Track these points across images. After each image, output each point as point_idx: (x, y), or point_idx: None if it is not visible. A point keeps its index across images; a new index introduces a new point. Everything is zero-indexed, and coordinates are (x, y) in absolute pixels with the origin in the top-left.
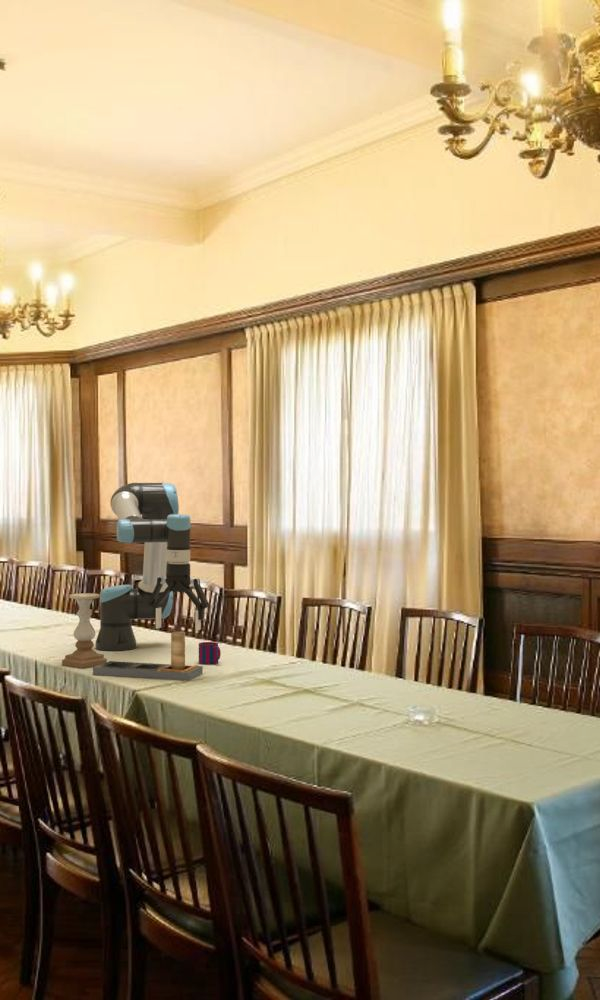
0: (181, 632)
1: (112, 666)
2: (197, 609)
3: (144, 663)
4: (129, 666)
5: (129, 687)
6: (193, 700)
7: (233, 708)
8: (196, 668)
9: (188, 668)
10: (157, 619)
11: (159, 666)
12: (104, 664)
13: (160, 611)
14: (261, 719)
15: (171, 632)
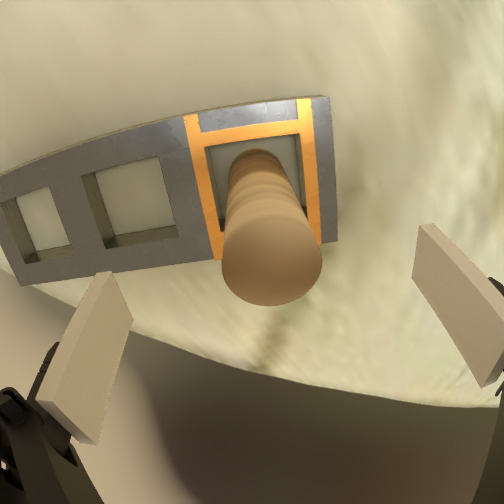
0: (292, 253)
1: (7, 204)
2: (497, 395)
3: (74, 157)
4: (76, 233)
5: (222, 355)
6: (405, 375)
7: (464, 375)
8: (328, 152)
9: (309, 185)
10: (114, 367)
11: (147, 157)
12: (6, 240)
13: (76, 382)
14: (488, 387)
15: (225, 281)
